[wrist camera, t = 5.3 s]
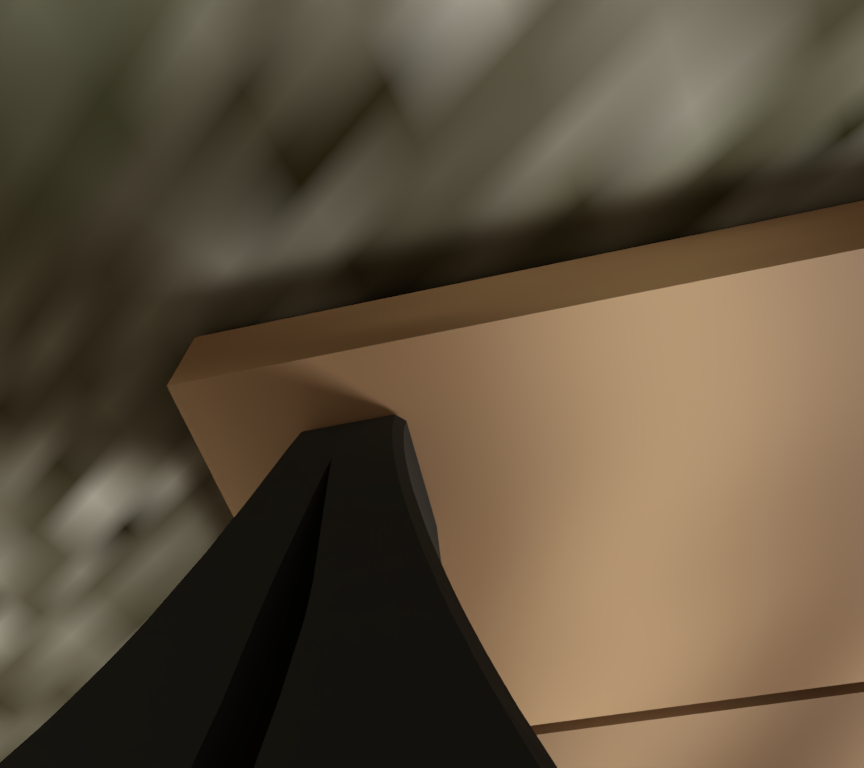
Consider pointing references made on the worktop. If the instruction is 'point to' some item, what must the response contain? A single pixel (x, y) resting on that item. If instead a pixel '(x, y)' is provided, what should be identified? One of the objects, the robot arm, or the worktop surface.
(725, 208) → the worktop surface
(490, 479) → the board
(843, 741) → the laid strip
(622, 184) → the worktop surface
